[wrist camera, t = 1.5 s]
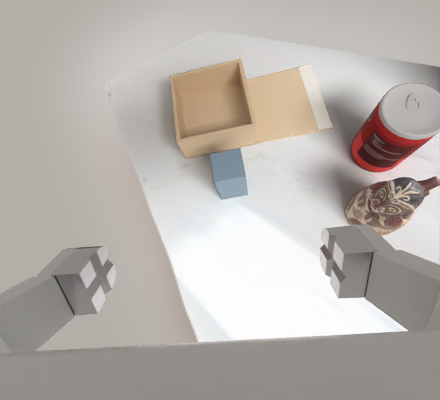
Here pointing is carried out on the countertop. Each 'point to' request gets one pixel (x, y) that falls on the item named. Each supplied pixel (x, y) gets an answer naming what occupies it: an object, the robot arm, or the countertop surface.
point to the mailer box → (243, 107)
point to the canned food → (397, 127)
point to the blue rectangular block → (229, 173)
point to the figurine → (388, 203)
